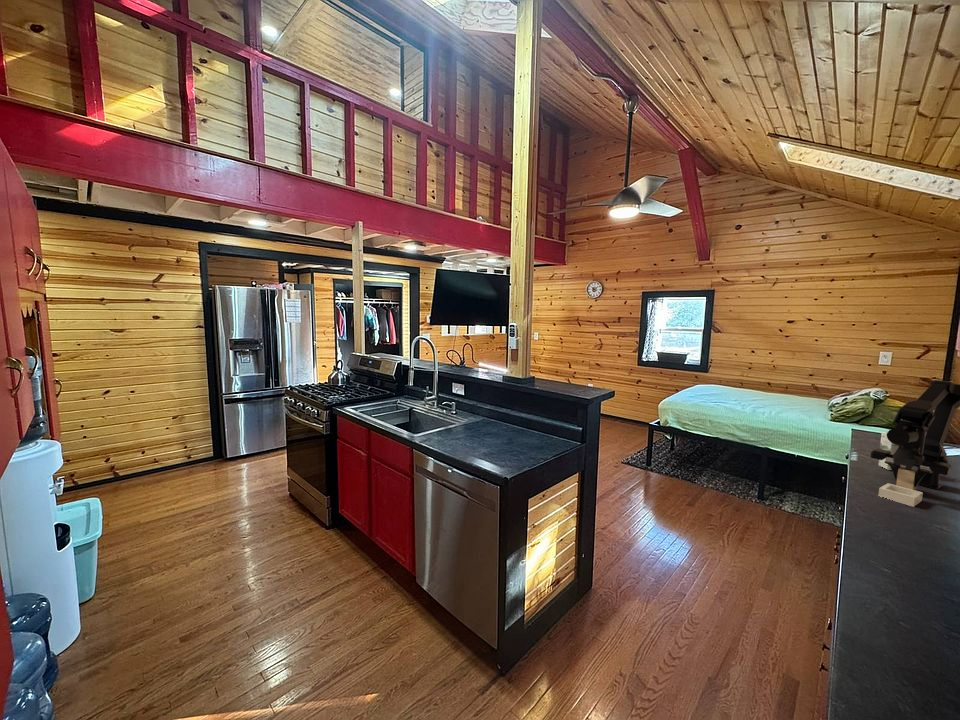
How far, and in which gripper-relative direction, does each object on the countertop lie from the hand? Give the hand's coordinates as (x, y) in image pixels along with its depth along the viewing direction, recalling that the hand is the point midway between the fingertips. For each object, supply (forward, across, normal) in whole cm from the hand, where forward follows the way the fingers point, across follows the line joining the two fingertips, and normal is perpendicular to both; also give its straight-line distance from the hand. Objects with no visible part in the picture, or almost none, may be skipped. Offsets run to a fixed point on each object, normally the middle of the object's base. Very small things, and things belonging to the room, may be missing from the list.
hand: (906, 484), depth 139 cm
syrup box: (+3, -10, +25) cm, 27 cm away
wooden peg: (+3, 0, 0) cm, 3 cm away
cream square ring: (+2, +1, -10) cm, 10 cm away
